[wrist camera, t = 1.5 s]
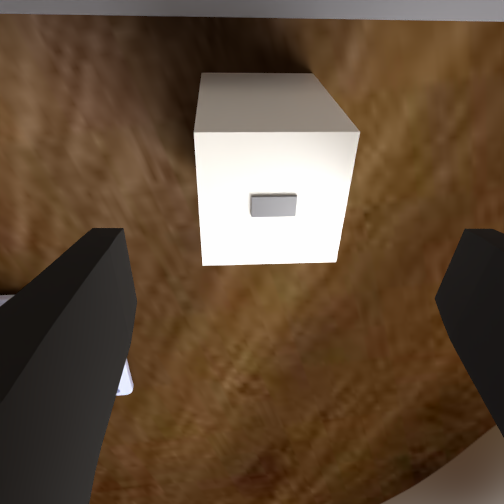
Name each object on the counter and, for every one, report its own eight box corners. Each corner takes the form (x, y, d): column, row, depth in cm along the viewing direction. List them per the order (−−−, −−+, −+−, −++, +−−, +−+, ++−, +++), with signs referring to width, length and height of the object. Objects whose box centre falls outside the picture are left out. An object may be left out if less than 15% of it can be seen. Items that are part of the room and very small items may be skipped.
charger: (206, 175, 17) (202, 267, 12) (201, 72, 14) (193, 134, 9) (302, 174, 17) (336, 264, 12) (312, 73, 15) (361, 133, 10)
